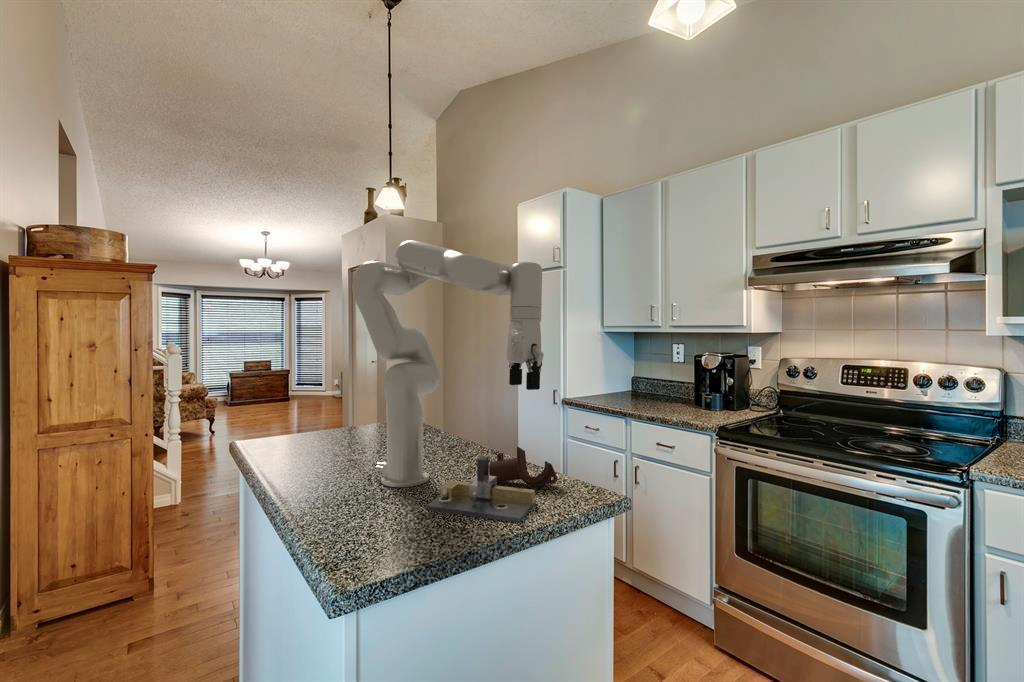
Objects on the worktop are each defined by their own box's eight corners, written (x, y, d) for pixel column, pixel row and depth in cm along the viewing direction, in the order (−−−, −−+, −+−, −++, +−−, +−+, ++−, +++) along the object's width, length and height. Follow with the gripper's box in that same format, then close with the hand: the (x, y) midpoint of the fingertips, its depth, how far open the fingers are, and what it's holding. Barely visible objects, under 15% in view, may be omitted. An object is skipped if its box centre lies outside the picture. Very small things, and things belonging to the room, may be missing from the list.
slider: (463, 501, 107) (463, 463, 107) (477, 490, 115) (477, 454, 115) (483, 503, 106) (483, 465, 105) (496, 492, 113) (496, 456, 113)
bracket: (555, 481, 118) (549, 441, 121) (490, 490, 121) (487, 451, 125) (559, 483, 123) (554, 445, 127) (497, 492, 126) (494, 455, 130)
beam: (436, 498, 110) (436, 488, 110) (448, 490, 116) (448, 480, 116) (526, 510, 102) (526, 499, 102) (534, 500, 109) (534, 490, 109)
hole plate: (426, 510, 105) (426, 504, 105) (450, 493, 117) (450, 488, 117) (520, 523, 98) (520, 517, 98) (536, 503, 110) (536, 498, 110)
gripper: (497, 315, 119) (495, 383, 119) (526, 313, 103) (525, 392, 103) (524, 316, 122) (523, 382, 122) (557, 314, 106) (555, 391, 106)
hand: (523, 387), depth 112 cm, fingers open, 9 cm apart
